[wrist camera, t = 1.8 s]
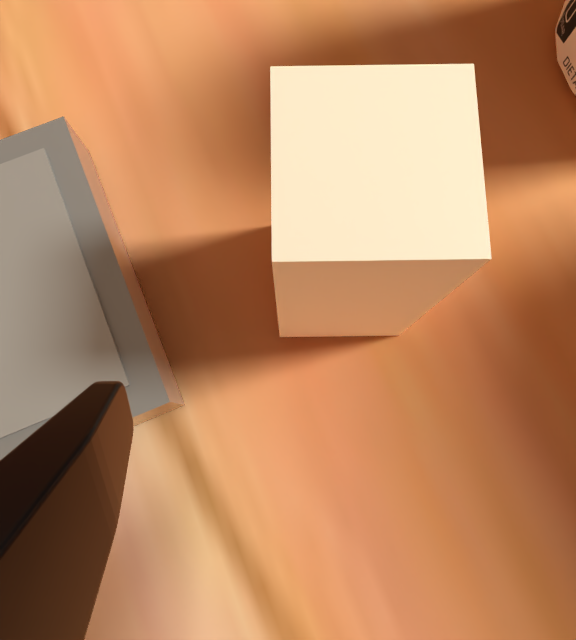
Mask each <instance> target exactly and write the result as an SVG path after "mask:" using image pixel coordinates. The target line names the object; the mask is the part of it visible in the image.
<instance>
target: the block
mask: <svg viewBox="0 0 576 640" xmlns="http://www.w3.org/2000/svg"><path fill="white" fill-rule="evenodd" d="M270 96H271V226H272V269H273V278H274V288H275V297H276V307H277V316H278V325H279V335H280V337H329V336H399V335H400V334H401V333H403V332H404V331H405V330H406V329H407V328H409V327H410V326H411V325H412V324H413V323H415V322H416V321H417V320H418V319H419V318H421V317H422V316H423V315H424V314H426V313H427V312H428V311H429V310H430V309H432V308H433V307H434V306H435V305H436V304H438V303H439V302H440V301H441V300H442V299H444V298H445V297H446V296H447V295H448V294H450V293H451V292H452V291H453V290H455V289H456V288H457V287H458V286H459V285H461V284H462V283H463V282H464V281H465V280H467V279H468V278H469V277H470V276H471V275H473V274H474V273H475V272H476V271H477V270H479V269H480V268H481V267H482V266H484V265H485V264H486V263H487V262H488V261H490V260H491V248H490V237H489V226H488V215H487V204H486V193H485V182H484V170H483V159H482V148H481V137H480V126H479V115H478V104H477V93H476V82H475V70H474V64H408V65H332V66H270Z"/></svg>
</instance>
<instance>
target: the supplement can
mask: <svg viewBox="0 0 576 640" xmlns="http://www.w3.org/2000/svg"><path fill="white" fill-rule="evenodd" d="M555 36H556V50H557V61H558V63H559V65H560V67H561V69H562V72H563V74H564V76H565V78H566V80H567V82H568V84H569V86H570V88H571V90H572V92H573V93H574V94H575V96H576V0H565V2H564V5H563V8H562V11H561V14H560V17H559V19H558V22H557V25H556V28H555Z"/></svg>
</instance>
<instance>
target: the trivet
mask: <svg viewBox="0 0 576 640" xmlns="http://www.w3.org/2000/svg"><path fill="white" fill-rule="evenodd" d="M98 381H120V382H122V383H123V385H124V386H125V389H126V393H127V397H128V401H129V405H130V409H131V414H132V418H133V426H136V425H138V424H140V423H143V422H145V421H148V420H150V419H152V418H155V417H157V416H160V415H162V414H164V413H167V412H169V411H171V410H174V409H176V408H179V407H181V406H183V405H185V404H184V401H183V399H182V396H181V393H180V391H179V388H178V385H177V383H176V380H175V378H174V375H173V372H172V370H171V367H170V364H169V362H168V359H167V356H166V354H165V351H164V348H163V346H162V343H161V340H160V338H159V335H158V333H157V330H156V327H155V325H154V322H153V319H152V317H151V314H150V311H149V309H148V306H147V303H146V301H145V298H144V296H143V293H142V290H141V288H140V285H139V282H138V280H137V277H136V274H135V272H134V269H133V266H132V264H131V261H130V258H129V256H128V253H127V251H126V248H125V245H124V243H123V240H122V237H121V235H120V232H119V229H118V227H117V224H116V221H115V219H114V216H113V213H112V211H111V208H110V206H109V203H108V200H107V198H106V195H105V192H104V190H103V187H102V184H101V182H100V179H99V176H98V174H97V171H96V168H95V166H94V163H93V161H92V158H91V155H90V153H89V151H88V149H87V148H86V146H85V145H84V144H83V142H82V141H81V140H80V138H79V137H78V136H77V134H76V133H75V131H74V130H73V129H72V127H71V126H70V125H69V123H68V122H67V120H66V119H65V118H64V117H61V118H58V119H55V120H53V121H50V122H47V123H45V124H42V125H39V126H37V127H34V128H31V129H28V130H26V131H23V132H20V133H18V134H15V135H12V136H10V137H7V138H4V139H1V140H0V460H1V459H2V458H3V457H5V456H6V455H7V454H8V453H9V452H11V451H12V450H13V449H14V448H15V447H17V446H18V445H19V444H20V443H21V442H23V441H24V440H25V439H26V438H27V437H29V436H30V435H31V434H32V433H33V432H35V431H36V430H37V429H38V428H39V427H41V426H42V425H43V424H44V423H45V422H47V421H48V420H49V419H50V418H51V417H53V416H54V415H55V414H56V413H57V412H59V411H60V410H61V409H62V408H64V407H65V406H66V405H67V404H68V403H70V402H71V401H72V400H73V399H74V398H76V397H77V396H78V395H79V394H80V393H82V392H83V391H84V390H85V389H86V388H88V387H89V386H90V385H91V384H93V383H94V382H98Z"/></svg>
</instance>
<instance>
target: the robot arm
mask: <svg viewBox="0 0 576 640" xmlns="http://www.w3.org/2000/svg"><path fill="white" fill-rule="evenodd" d="M132 437H133V418H132V414H131V409H130V405H129V401H128V397H127V393H126V389H125V386H124V385H123V383H122V382H120V381H98V382H94V383H93V384H91V385H90V386H89V387H88V388H86V389H85V390H84V391H83V392H82V393H80V394H79V395H78V396H77V397H76V398H74V399H73V400H72V401H71V402H70V403H68V404H67V405H66V406H65V407H64V408H62V409H61V410H60V411H59V412H57V413H56V414H55V415H54V416H53V417H51V418H50V419H49V420H48V421H47V422H45V423H44V424H43V425H42V426H41V427H39V428H38V429H37V430H36V431H35V432H33V433H32V434H31V435H30V436H29V437H27V438H26V439H25V440H24V441H23V442H21V443H20V444H19V445H18V446H17V447H15V448H14V449H13V450H12V451H11V452H9V453H8V454H7V455H6V456H5V457H3V458H2V459H1V460H0V640H84V639H85V635H86V632H87V628H88V625H89V621H90V618H91V615H92V611H93V608H94V604H95V601H96V598H97V594H98V591H99V587H100V584H101V580H102V577H103V574H104V570H105V567H106V563H107V560H108V556H109V553H110V550H111V546H112V543H113V539H114V535H115V532H116V528H117V524H118V519H119V513H120V508H121V502H122V496H123V490H124V484H125V479H126V473H127V467H128V461H129V455H130V449H131V443H132Z"/></svg>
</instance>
